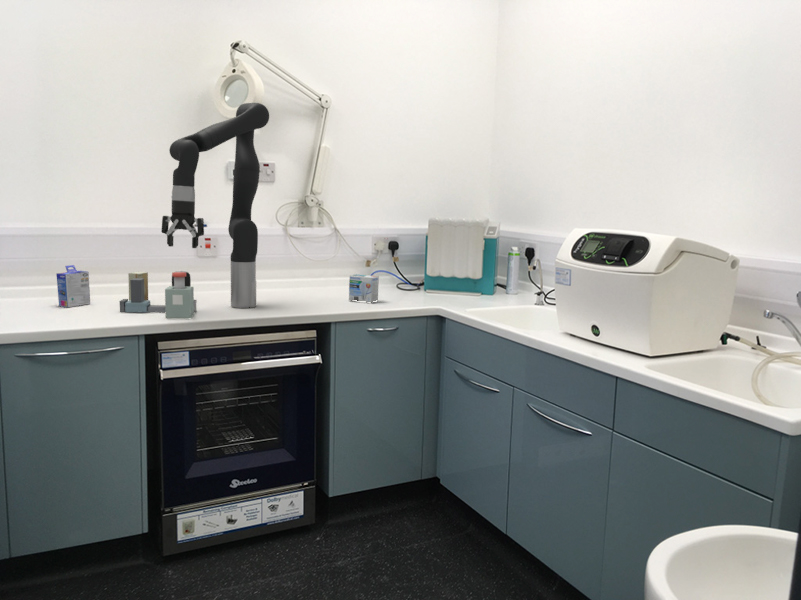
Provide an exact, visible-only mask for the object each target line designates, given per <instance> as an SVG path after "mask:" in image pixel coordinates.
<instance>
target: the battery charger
mask: <svg viewBox="0 0 801 600" xmlns="http://www.w3.org/2000/svg"><path fill="white" fill-rule="evenodd" d="M177 272H186V277H185V287H192V286H191V283H192V282H191V274H190V272H189V271H182V270H181V271H177ZM171 286H174V277H172V276H171Z"/></svg>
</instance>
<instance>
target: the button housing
mask: <svg viewBox="0 0 801 600" xmlns="http://www.w3.org/2000/svg"><path fill="white" fill-rule="evenodd" d="M194 289H195V288H194V286H191V287H185V289H174V286H172V285H171V286H168V287H166V288H165V289H164V298H165V299H164V301H165V304H164V305H165V311H166V313H165V319H166V318H191V319H192V317H194V315H195V313H194V300H195V297H194V295H195V294H194V293H195V292H194Z"/></svg>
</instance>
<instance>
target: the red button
mask: <svg viewBox="0 0 801 600" xmlns="http://www.w3.org/2000/svg"><path fill="white" fill-rule="evenodd" d="M186 272H187V271H185V272H178V271H174V272H172V273H171V278H172V277H174V289H185V277H186Z"/></svg>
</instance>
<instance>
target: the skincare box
mask: <svg viewBox="0 0 801 600" xmlns="http://www.w3.org/2000/svg"><path fill="white" fill-rule="evenodd" d="M127 274H128V301H129V300H131V285H130V280H131V279H133V278H144V292H145V300H149V273H148V272H146V271H136V272H135V271H133V272H128V273H127Z"/></svg>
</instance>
